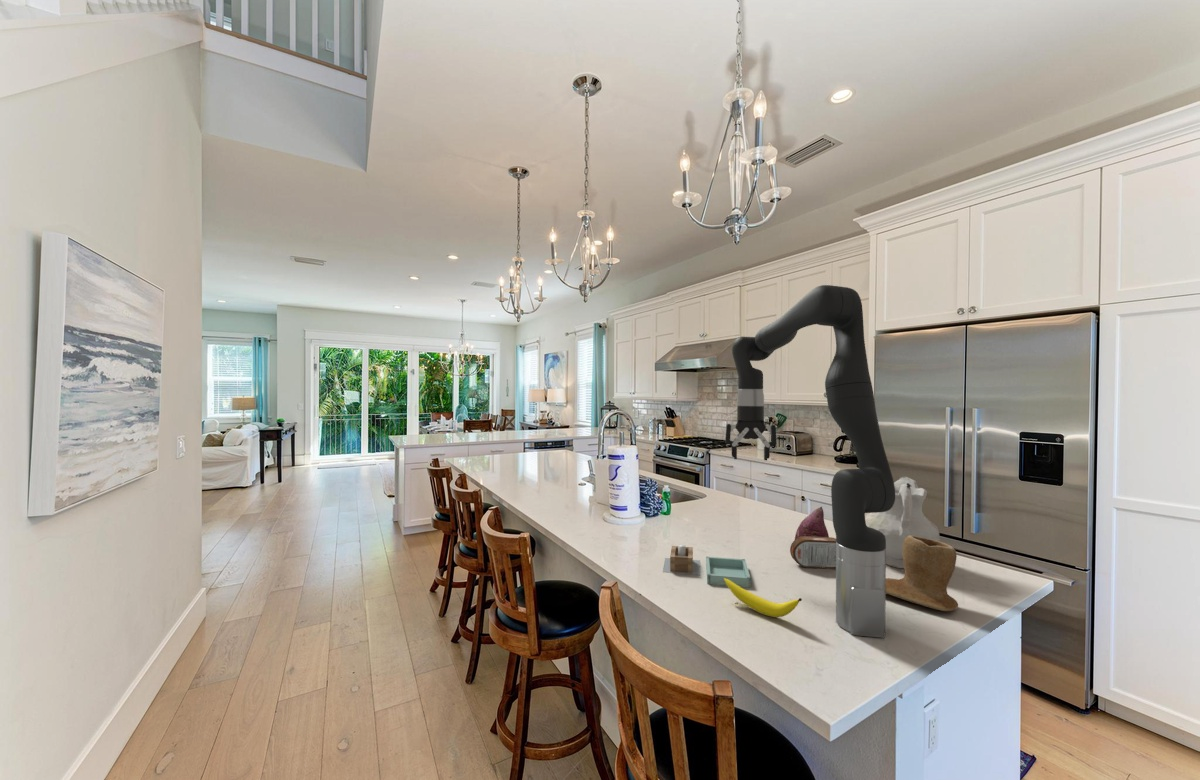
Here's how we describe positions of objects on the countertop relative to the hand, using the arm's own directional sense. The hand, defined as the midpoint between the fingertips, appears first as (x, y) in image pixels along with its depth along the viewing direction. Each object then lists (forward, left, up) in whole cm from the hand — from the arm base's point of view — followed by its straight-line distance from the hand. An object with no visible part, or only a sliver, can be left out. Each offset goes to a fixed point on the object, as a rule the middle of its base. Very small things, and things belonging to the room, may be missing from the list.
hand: (750, 459), depth 138 cm
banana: (-34, +2, -30) cm, 45 cm away
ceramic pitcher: (+6, -42, -30) cm, 52 cm away
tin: (-2, -18, -30) cm, 35 cm away
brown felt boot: (-20, -36, -30) cm, 51 cm away
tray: (-15, +8, -30) cm, 34 cm away
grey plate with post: (-11, +20, -30) cm, 37 cm away
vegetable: (+15, -20, -30) cm, 39 cm away
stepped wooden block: (-11, +20, -29) cm, 37 cm away
